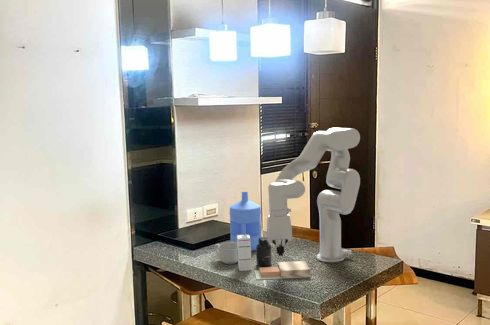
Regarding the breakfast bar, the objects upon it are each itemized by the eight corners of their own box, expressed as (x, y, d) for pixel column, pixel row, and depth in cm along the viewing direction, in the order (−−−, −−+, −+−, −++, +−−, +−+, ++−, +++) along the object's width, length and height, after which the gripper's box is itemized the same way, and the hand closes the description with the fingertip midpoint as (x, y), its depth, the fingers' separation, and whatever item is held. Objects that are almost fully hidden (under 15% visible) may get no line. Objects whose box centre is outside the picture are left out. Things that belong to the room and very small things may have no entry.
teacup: (246, 261, 225) (246, 244, 224) (230, 267, 218) (229, 250, 217) (225, 255, 235) (224, 239, 234) (208, 261, 227) (208, 244, 226)
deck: (305, 267, 214) (304, 260, 214) (310, 276, 203) (310, 269, 203) (277, 268, 213) (277, 262, 213) (281, 277, 202) (281, 270, 202)
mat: (305, 268, 214) (305, 267, 214) (310, 277, 203) (310, 276, 203) (254, 270, 213) (254, 270, 212) (256, 279, 202) (256, 279, 202)
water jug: (233, 242, 256) (231, 189, 253) (263, 243, 254) (262, 189, 251) (228, 251, 241) (226, 195, 238) (260, 252, 239) (258, 195, 236)
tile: (278, 271, 210) (278, 266, 210) (280, 276, 204) (280, 271, 204) (259, 272, 210) (259, 267, 210) (260, 277, 204) (260, 272, 204)
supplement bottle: (267, 268, 216) (266, 241, 214) (253, 265, 219) (253, 239, 218) (274, 263, 221) (274, 237, 220) (261, 261, 225) (260, 235, 224)
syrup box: (252, 270, 213) (251, 237, 211) (238, 271, 213) (237, 238, 211) (250, 266, 219) (250, 234, 217) (237, 266, 218) (236, 234, 217)
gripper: (294, 209, 209) (296, 250, 212) (259, 211, 208) (261, 253, 211) (298, 213, 202) (299, 256, 204) (261, 215, 201) (263, 259, 203)
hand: (280, 254), depth 207 cm, fingers closed
